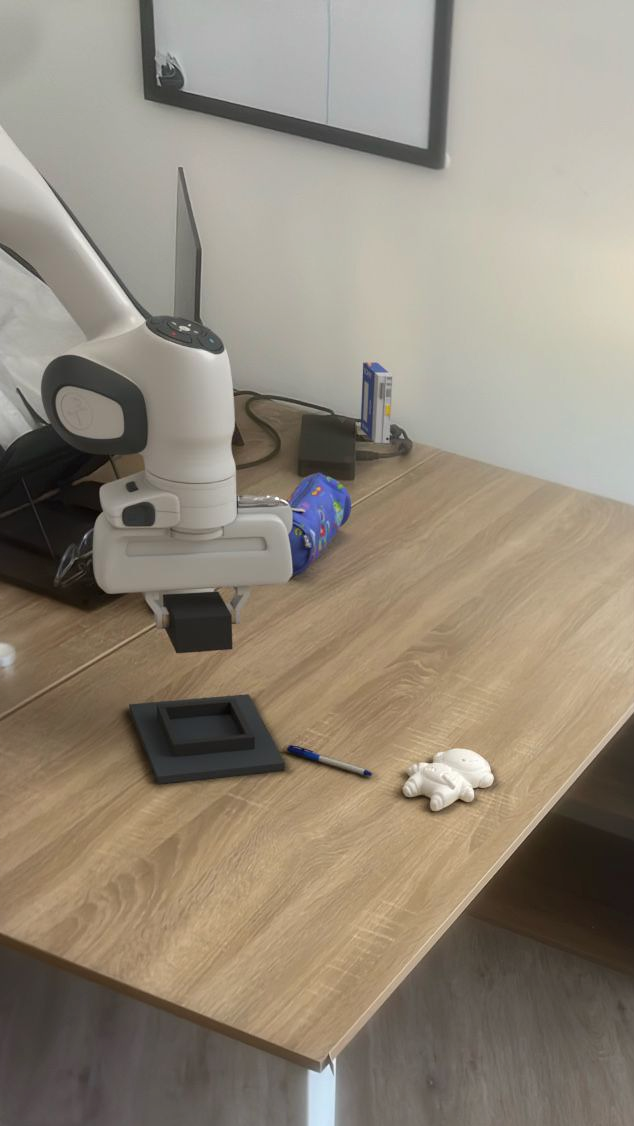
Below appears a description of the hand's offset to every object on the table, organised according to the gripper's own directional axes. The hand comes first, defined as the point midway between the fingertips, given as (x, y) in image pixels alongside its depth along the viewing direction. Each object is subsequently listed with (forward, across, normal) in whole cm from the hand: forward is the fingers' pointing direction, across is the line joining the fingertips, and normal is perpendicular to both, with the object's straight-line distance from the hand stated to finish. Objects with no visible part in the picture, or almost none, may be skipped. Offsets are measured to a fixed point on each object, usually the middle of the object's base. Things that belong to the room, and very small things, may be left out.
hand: (197, 624), depth 137 cm
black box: (+2, 0, 0) cm, 2 cm away
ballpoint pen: (+14, -12, +9) cm, 21 cm away
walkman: (+14, -54, -100) cm, 114 cm away
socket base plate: (+14, 0, +1) cm, 14 cm away
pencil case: (+14, -26, -49) cm, 57 cm away
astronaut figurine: (+14, -24, +15) cm, 32 cm away
